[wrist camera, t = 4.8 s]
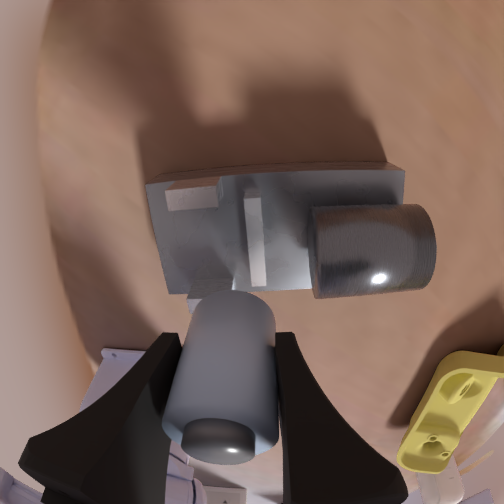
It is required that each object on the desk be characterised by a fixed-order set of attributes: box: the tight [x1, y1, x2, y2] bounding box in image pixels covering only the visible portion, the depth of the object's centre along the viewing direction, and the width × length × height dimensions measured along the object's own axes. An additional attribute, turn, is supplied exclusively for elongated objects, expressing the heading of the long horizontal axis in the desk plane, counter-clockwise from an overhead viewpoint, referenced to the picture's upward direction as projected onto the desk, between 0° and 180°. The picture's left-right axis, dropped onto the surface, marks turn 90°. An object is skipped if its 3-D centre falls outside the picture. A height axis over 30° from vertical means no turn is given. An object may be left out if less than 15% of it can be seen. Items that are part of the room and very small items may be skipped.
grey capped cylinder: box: [162, 290, 279, 465], centre depth 10 cm, size 4×4×6 cm
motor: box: [145, 162, 437, 314], centre depth 15 cm, size 15×7×7 cm, turn 95°
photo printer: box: [415, 454, 464, 504], centre depth 31 cm, size 10×4×12 cm, turn 61°
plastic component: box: [397, 344, 504, 474], centre depth 26 cm, size 20×7×10 cm
